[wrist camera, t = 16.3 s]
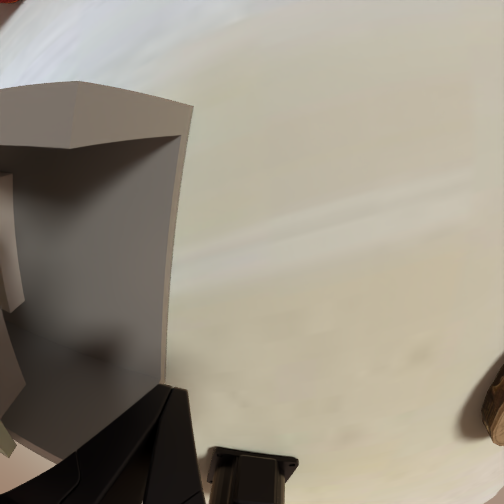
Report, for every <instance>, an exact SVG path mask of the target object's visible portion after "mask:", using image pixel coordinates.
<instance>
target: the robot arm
mask: <svg viewBox="0 0 504 504" xmlns="http://www.w3.org/2000/svg"><path fill="white" fill-rule="evenodd" d="M298 465H299V460H298V459H296V458H288V457H277V456H268V455H260V454H253V453H246V452H239V451H233V450H228V449H222V448H216V449H214V452H213V456H212V460H211V465H210V469H209V473H208V478H207V482H209V483H212V488H211V493H210V499H209V504H284V502H285V483H286V482H287V480H288V479H289V478H290V476H291V475H292V474H293V472H294V471H295V470H296V468H297V467H298ZM142 502H143V504H206V502H205V497H204V492H203V488H202V483H201V477H200V471H199V466H198V460H197V454H196V448H195V441H194V434H193V428H192V421H191V413H190V406H189V398H188V391H187V390H186V389H182V388H178V387H174V388H173V387H172V386H169V385H165V384H161V383H160V384H157V385H156V386H155V387H154V388H152V389H151V390H150V391H149V392H148V393H146V394H145V395H144V396H143V397H142V398H140V399H139V400H138V401H137V402H136V403H134V404H133V405H132V406H131V407H130V408H128V409H127V410H126V411H125V412H123V413H122V414H121V415H120V416H119V417H117V418H116V419H115V420H114V421H112V422H111V423H110V424H109V425H107V426H106V427H105V428H104V429H102V430H101V431H100V432H99V433H97V434H96V435H95V436H94V437H92V438H91V439H90V440H88V441H87V442H86V443H85V444H83V445H82V446H81V447H80V448H78V449H77V452H76V451H74V452H73V453H72V454H70V455H69V456H68V457H66V458H65V459H64V460H62V461H61V462H59V463H58V464H57V465H55V466H54V467H52V468H51V469H49V470H47V471H46V472H44V473H42V474H40V475H39V476H37V477H35V478H33V479H31V480H29V481H27V482H26V483H24V484H22V485H20V486H18V487H16V488H14V489H12V490H10V491H8V492H6V493H3V494H0V504H142Z"/></svg>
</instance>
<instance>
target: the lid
mask: <svg viewBox="0 0 504 504" xmlns="http://www.w3.org/2000/svg"><path fill="white" fill-rule="evenodd" d="M25 385H26V382H25V380H24V377H23V375H22V372H21V370H20V367H19V364H18V362H17V359H16V356H15V353H14V350H13V347H12V344H11V341H10V338H9V335H8V331H7V328H6V324H5V321H4V317H3V314H2V310H1V306H0V419H1V418H2V416H3V415H4V414H5V412H6V411H7V409H8V408H9V407H10V405H11V404H12V403H13V401H14V400H15V399H16V397H17V396H18V395H19V393H20V392H21V391H22V389H23V388H24V387H25ZM16 446H17V445H16V443H15V442H14V440H13V439H12V437H11V436H10V434H9V433H8V431H7V430H6V428H5V427H4V425H3V423H2V422H1V420H0V453H2V454H3V455H5V456H6V457H8V458H9V457H10V456H11V454H12V452H13V451H14V449H15V447H16Z"/></svg>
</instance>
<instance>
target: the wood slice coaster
mask: <svg viewBox="0 0 504 504" xmlns="http://www.w3.org/2000/svg"><path fill="white" fill-rule="evenodd" d="M482 419H483V423H484V425H485V427H486V429H487V431H488V433H489V435H490V437H491V439H492V441H493V443H495V444H497V445H499V446H504V365H503V366H502V368H501V369H500V371H499V373H498V375H497V377H496V378H495V380H494V382H493V384H492V385H491V387H490V389H489V390H488V392H487V395H486V398H485V401H484V404H483V407H482Z"/></svg>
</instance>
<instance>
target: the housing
mask: <svg viewBox="0 0 504 504" xmlns="http://www.w3.org/2000/svg"><path fill="white" fill-rule="evenodd" d="M193 107H194V106H190V105H187V104H183V103H179V102H176V101H172V100H168V99H164V98H160V97H156V96H152V95H148V94H143V93H139V92H134V91H130V90H125V89H120V88H115V87H110V86H105V85H99V84H94V83H88V82H82V81H70V82H55V83H44V84H34V85H26V86H18V87H11V88H5V89H0V306H1V310H2V314H3V317H4V321H5V324H6V328H7V331H8V335H9V338H10V341H11V344H12V347H13V350H14V353H15V356H16V359H17V362H18V364H19V367H20V370H21V372H22V375H23V377H24V380H25V382H26V385H25V387H24V388H23V389H22V391H21V392H20V393H19V395H18V396H17V397H16V399H15V400H14V401H13V403H12V404H11V405H10V407H9V408H8V409H7V411H6V412H5V414H4V415H3V416H2V418H1V419H0V420H1V422H2V423H3V425H4V427H5V428H6V430H7V431H8V433H9V434H10V436H11V437H12V439H14V440H16V441H17V442H18V443H20V444H22V445H23V446H25V447H27V448H28V449H30V450H32V451H33V452H35V453H37V454H39V455H41V456H42V457H44V458H46V459H48V460H50V461H52V462H54V463H56V464H58V463H59V462H61V461H62V460H64V459H65V458H66V457H68V456H69V455H70V454H72V453H73V452H74V451H76V452H77V449H78V448H80V447H81V446H82V445H83V444H85V443H86V442H87V441H88V440H90V439H91V438H92V437H94V436H95V435H96V434H97V433H99V432H100V431H101V430H102V429H104V428H105V427H106V426H107V425H109V424H110V423H111V422H112V421H114V420H115V419H116V418H117V417H119V416H120V415H121V414H122V413H123V412H125V411H126V410H127V409H128V408H130V407H131V406H132V405H133V404H134V403H136V402H137V401H138V400H139V399H140V398H142V397H143V396H144V395H145V394H146V393H148V392H149V391H150V390H151V389H152V388H154V387H155V386H156V385H157V384H160V383H161V384H164V383H165V377H166V344H167V323H168V306H169V291H170V279H171V267H172V256H173V246H174V236H175V227H176V218H177V210H178V202H179V194H180V187H181V180H182V173H183V166H184V159H185V153H186V147H187V141H188V135H189V129H190V123H191V118H192V112H193Z"/></svg>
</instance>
